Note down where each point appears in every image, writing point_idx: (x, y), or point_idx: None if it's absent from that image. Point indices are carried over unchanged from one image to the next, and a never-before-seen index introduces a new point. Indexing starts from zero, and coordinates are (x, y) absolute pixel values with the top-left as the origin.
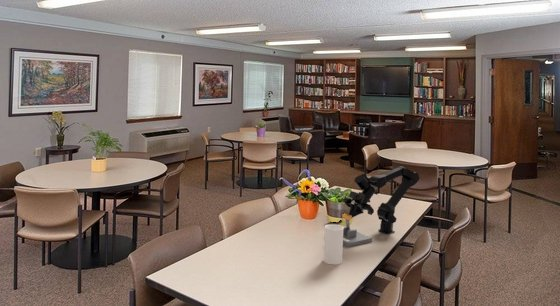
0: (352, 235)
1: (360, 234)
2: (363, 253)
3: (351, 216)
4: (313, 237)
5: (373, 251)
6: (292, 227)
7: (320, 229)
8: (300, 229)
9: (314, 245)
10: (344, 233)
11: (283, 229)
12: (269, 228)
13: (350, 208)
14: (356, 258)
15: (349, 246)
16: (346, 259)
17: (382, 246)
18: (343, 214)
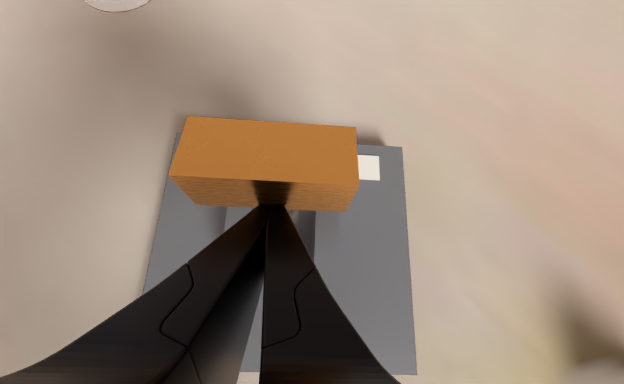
0: None
1: (246, 346)
2: (65, 146)
3: (180, 183)
4: (409, 97)
5: (34, 218)
6: (594, 109)
7: (518, 219)
8: (551, 122)
9: (311, 34)
10: (312, 226)
11: (573, 57)
12: (603, 19)
13: (354, 336)
14: (55, 72)
15: None
16: (86, 31)
17: (31, 352)
18: (327, 129)
